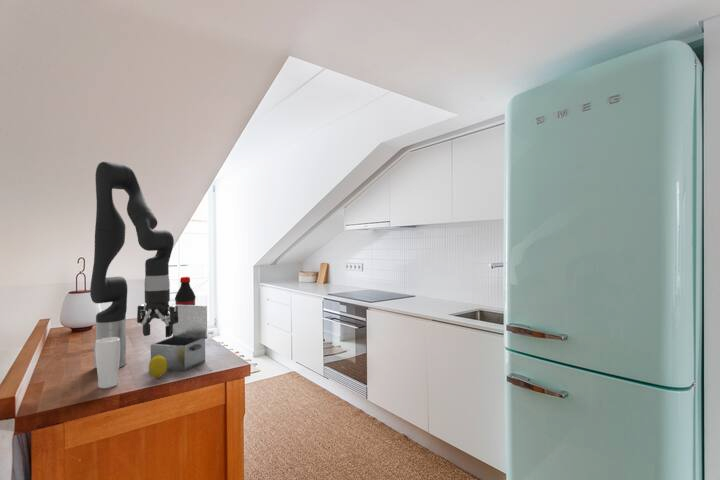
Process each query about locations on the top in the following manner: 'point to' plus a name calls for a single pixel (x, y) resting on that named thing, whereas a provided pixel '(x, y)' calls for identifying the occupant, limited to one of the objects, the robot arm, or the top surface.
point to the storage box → (180, 352)
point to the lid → (191, 321)
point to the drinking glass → (107, 361)
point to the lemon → (157, 366)
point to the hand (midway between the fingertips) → (157, 336)
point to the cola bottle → (185, 293)
